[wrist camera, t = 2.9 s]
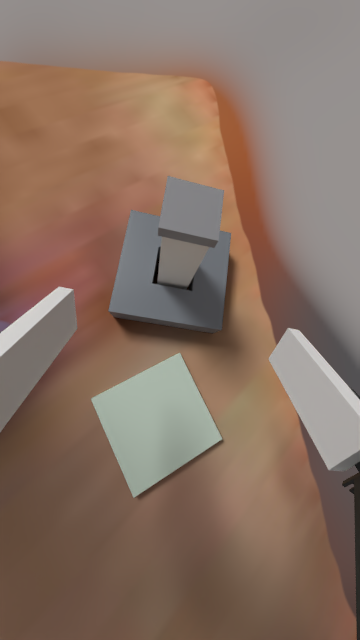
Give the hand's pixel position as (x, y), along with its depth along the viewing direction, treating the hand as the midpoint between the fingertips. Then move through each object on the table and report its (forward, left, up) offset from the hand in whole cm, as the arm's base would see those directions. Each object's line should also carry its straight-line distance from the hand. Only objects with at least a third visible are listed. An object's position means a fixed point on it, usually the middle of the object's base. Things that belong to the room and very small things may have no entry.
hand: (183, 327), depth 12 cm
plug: (-8, +5, -15) cm, 18 cm away
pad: (+8, -5, -15) cm, 18 cm away
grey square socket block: (-8, +5, -15) cm, 18 cm away
